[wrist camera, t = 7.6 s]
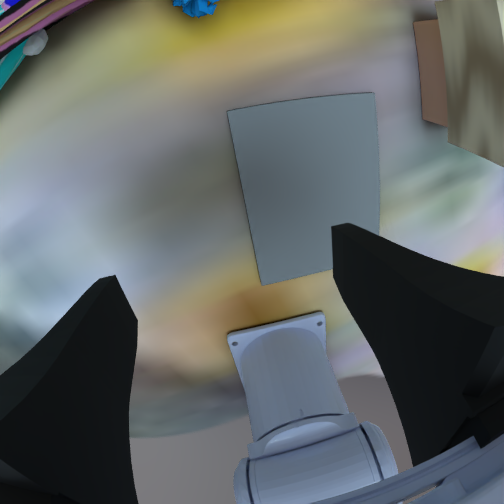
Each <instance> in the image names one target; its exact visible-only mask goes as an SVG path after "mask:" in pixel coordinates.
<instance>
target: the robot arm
mask: <svg viewBox="0 0 504 504" xmlns="http://www.w3.org/2000/svg"><path fill="white" fill-rule="evenodd" d="M331 235H332V257H333V278H334V280H335V283H336V285H337V287H338V290H339V292H340V294H341V296H342V299H343V301H344V303H345V304H346V306H347V308H348V309H349V311H350V313H351V314H352V316H353V318H354V320H355V321H356V323H357V324H358V326H359V328H360V329H361V331H362V333H363V335H364V336H365V338H366V340H367V341H368V343H369V345H370V346H371V348H372V350H373V352H374V354H375V356H376V358H377V360H378V362H379V364H380V366H381V369H382V371H383V374H384V376H385V378H386V381H387V383H388V385H389V388H390V391H391V394H392V396H393V399H394V402H395V404H396V407H397V410H398V413H399V417H400V419H401V423H402V426H403V429H404V432H405V436H406V440H407V443H408V447H409V451H410V455H411V459H412V464H413V468H410V469H408V470H406V471H404V472H401V473H399V474H398V470H397V466H396V463H395V460H394V457H393V454H392V451H391V449H390V446H389V444H388V442H387V440H386V438H385V436H384V434H383V432H382V431H381V429H380V428H379V427H378V426H376V425H374V424H372V423H370V422H369V421H365V422H362V423H360V424H358V421H357V419H356V416H355V414H354V412H351V413H349V410H348V407H347V405H346V402H345V400H344V397H343V395H342V392H341V390H340V387H339V385H338V382H337V380H336V377H335V375H334V373H333V370H332V368H331V365H330V363H329V360H328V358H327V355H326V321H325V315H324V313H323V312H317V313H313V314H309V315H305V316H301V317H297V318H293V319H289V320H285V321H281V322H276V323H272V324H268V325H263V326H259V327H255V328H250V329H246V330H241V331H236V332H232V333H229V334H228V335H227V341H228V344H229V347H230V350H231V353H232V355H233V358H234V361H235V364H236V367H237V370H238V373H239V376H240V378H241V381H242V384H243V387H244V390H245V394H246V400H247V406H248V412H249V418H250V424H251V430H252V436H253V441H254V443H250V444H248V445H247V447H248V453H249V457H247V458H243V459H241V461H240V462H239V464H238V466H237V468H236V470H235V473H234V493H235V498H236V503H237V504H403V503H402V502H403V501H405V500H407V499H410V498H412V497H414V496H416V495H418V494H420V493H422V492H425V491H427V490H429V489H431V488H432V487H435V486H436V488H435V489H433V490H432V491H430V492H428V493H427V494H425V495H423V496H421V497H419V498H417V499H415V500H413V501H411V502H410V503H407V504H504V277H502V276H496V275H490V274H485V273H481V272H477V271H473V270H468V269H464V268H461V267H457V266H454V265H451V264H447V263H444V262H441V261H438V260H435V259H432V258H430V257H427V256H424V255H422V254H419V253H417V252H415V251H412V250H410V249H407V248H405V247H403V246H400V245H398V244H396V243H394V242H391V241H389V240H387V239H385V238H383V237H381V236H379V235H376V234H374V233H372V232H370V231H368V230H366V229H363V228H361V227H359V226H357V225H354V224H351V223H344V224H339V225H335V226H331ZM320 321H321V322H320ZM318 322H319V323H318ZM137 336H138V320H137V318H136V316H135V314H134V312H133V310H132V308H131V306H130V304H129V302H128V300H127V298H126V296H125V294H124V292H123V290H122V288H121V286H120V284H119V282H118V280H117V277H116V275H113V276H108V277H104V278H100V279H99V280H97V281H96V282H95V283H94V284H93V285H92V286H91V287H90V288H89V289H88V290H87V291H86V292H85V293H84V294H83V295H82V296H81V297H80V298H79V299H78V301H77V302H76V303H75V304H74V305H73V306H72V307H71V308H70V309H69V310H68V312H67V313H66V314H65V315H64V316H63V317H62V318H61V319H60V320H59V321H58V322H57V323H56V324H55V326H54V327H53V328H52V329H51V330H50V331H49V332H48V333H47V334H46V335H45V336H44V337H43V338H42V339H41V340H40V341H39V342H38V343H37V344H36V345H35V346H34V347H33V348H32V349H31V350H30V351H29V352H28V353H27V354H25V355H24V356H23V357H22V358H21V359H20V360H19V361H17V362H16V363H15V364H14V365H12V366H11V367H10V368H9V369H8V370H6V371H5V372H4V373H3V374H1V375H0V504H138V500H137V495H136V490H135V485H134V478H133V471H132V464H131V454H130V440H129V402H130V393H131V386H132V379H133V372H134V365H135V358H136V351H137ZM233 342H235V343H233Z"/></svg>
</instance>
